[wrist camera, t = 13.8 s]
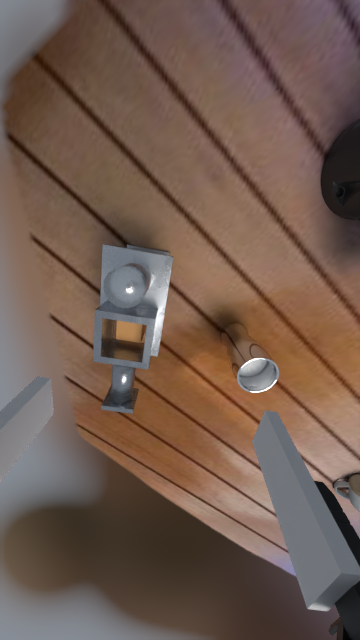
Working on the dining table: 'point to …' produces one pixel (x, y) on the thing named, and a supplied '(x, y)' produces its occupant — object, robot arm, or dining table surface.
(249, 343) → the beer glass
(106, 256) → the metal pedestal stand
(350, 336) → the dining table surface
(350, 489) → the ceramic mug
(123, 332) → the tan wooden block
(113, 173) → the dining table surface
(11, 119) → the dining table surface
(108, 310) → the bracket
